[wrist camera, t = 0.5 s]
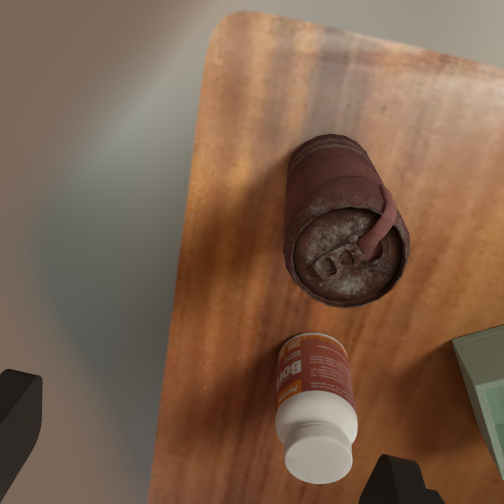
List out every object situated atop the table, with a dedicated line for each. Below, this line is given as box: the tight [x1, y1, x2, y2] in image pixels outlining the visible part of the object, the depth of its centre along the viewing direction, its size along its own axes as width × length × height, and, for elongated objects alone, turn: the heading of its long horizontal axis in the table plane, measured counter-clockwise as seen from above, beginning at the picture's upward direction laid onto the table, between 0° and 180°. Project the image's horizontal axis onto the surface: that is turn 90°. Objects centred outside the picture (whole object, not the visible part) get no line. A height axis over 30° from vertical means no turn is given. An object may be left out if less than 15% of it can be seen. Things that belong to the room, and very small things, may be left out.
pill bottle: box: [275, 332, 358, 484], centre depth 37 cm, size 6×6×11 cm
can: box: [283, 134, 410, 308], centre depth 28 cm, size 6×6×14 cm
